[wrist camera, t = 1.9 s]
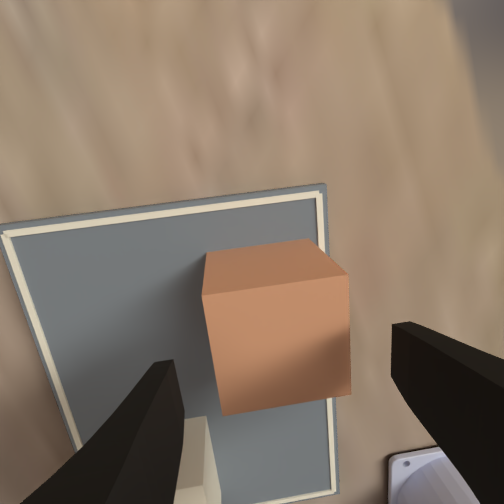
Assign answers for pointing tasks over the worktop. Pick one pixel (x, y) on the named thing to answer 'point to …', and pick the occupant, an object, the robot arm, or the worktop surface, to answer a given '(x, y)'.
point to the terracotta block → (277, 325)
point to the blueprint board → (170, 333)
